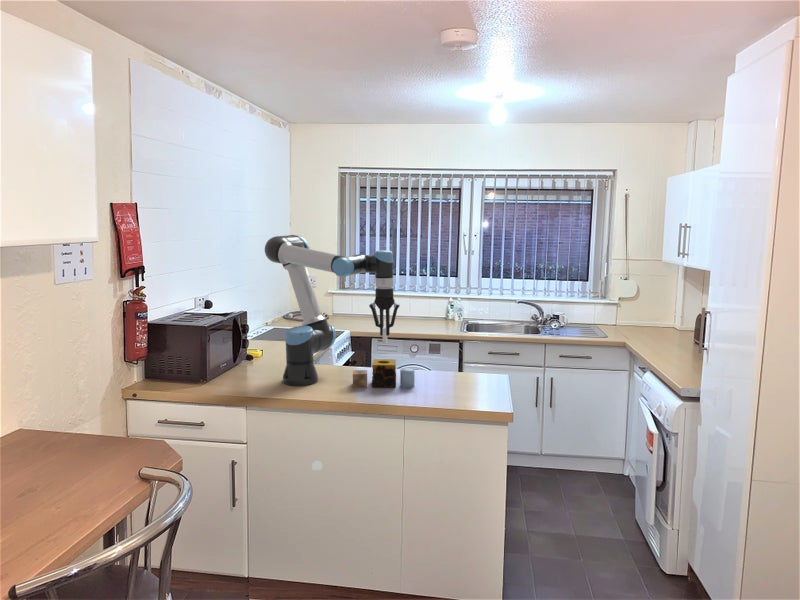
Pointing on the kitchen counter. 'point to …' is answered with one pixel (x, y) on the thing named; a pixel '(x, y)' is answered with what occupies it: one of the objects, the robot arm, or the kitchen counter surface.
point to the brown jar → (359, 378)
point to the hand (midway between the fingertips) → (385, 342)
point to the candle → (384, 373)
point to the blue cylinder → (407, 378)
